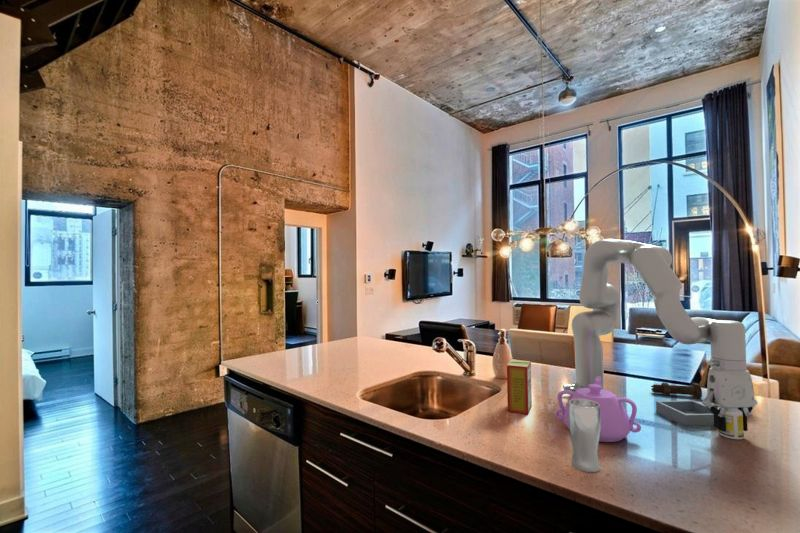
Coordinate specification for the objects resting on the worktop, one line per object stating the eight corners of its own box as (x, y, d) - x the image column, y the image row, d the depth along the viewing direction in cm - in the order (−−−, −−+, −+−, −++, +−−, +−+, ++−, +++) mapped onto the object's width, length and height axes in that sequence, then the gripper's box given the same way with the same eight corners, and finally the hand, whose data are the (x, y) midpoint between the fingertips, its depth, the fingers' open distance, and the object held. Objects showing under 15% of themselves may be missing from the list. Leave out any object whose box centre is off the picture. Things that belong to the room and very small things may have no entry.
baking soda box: (528, 415, 123) (527, 366, 124) (507, 412, 126) (506, 364, 127) (531, 406, 132) (530, 360, 132) (512, 403, 135) (511, 358, 135)
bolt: (652, 397, 145) (699, 400, 140) (654, 394, 141) (703, 397, 136) (649, 382, 148) (695, 384, 143) (651, 379, 144) (699, 381, 139)
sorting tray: (686, 427, 112) (686, 415, 112) (656, 411, 125) (655, 401, 125) (727, 426, 113) (727, 414, 113) (693, 411, 125) (692, 400, 125)
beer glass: (564, 459, 93) (562, 398, 94) (590, 458, 94) (589, 397, 94) (579, 474, 86) (578, 408, 87) (608, 472, 87) (607, 407, 87)
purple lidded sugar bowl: (639, 425, 114) (638, 379, 115) (642, 454, 96) (641, 399, 96) (561, 412, 125) (560, 370, 126) (550, 436, 107) (549, 387, 107)
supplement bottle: (737, 433, 107) (736, 398, 108) (748, 441, 102) (746, 404, 102) (714, 431, 109) (713, 396, 109) (723, 438, 104) (722, 403, 104)
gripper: (710, 368, 102) (712, 435, 102) (771, 367, 103) (773, 434, 102) (688, 362, 110) (690, 424, 109) (745, 361, 110) (747, 423, 110)
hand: (730, 428), depth 106 cm, fingers closed on supplement bottle, 5 cm apart
